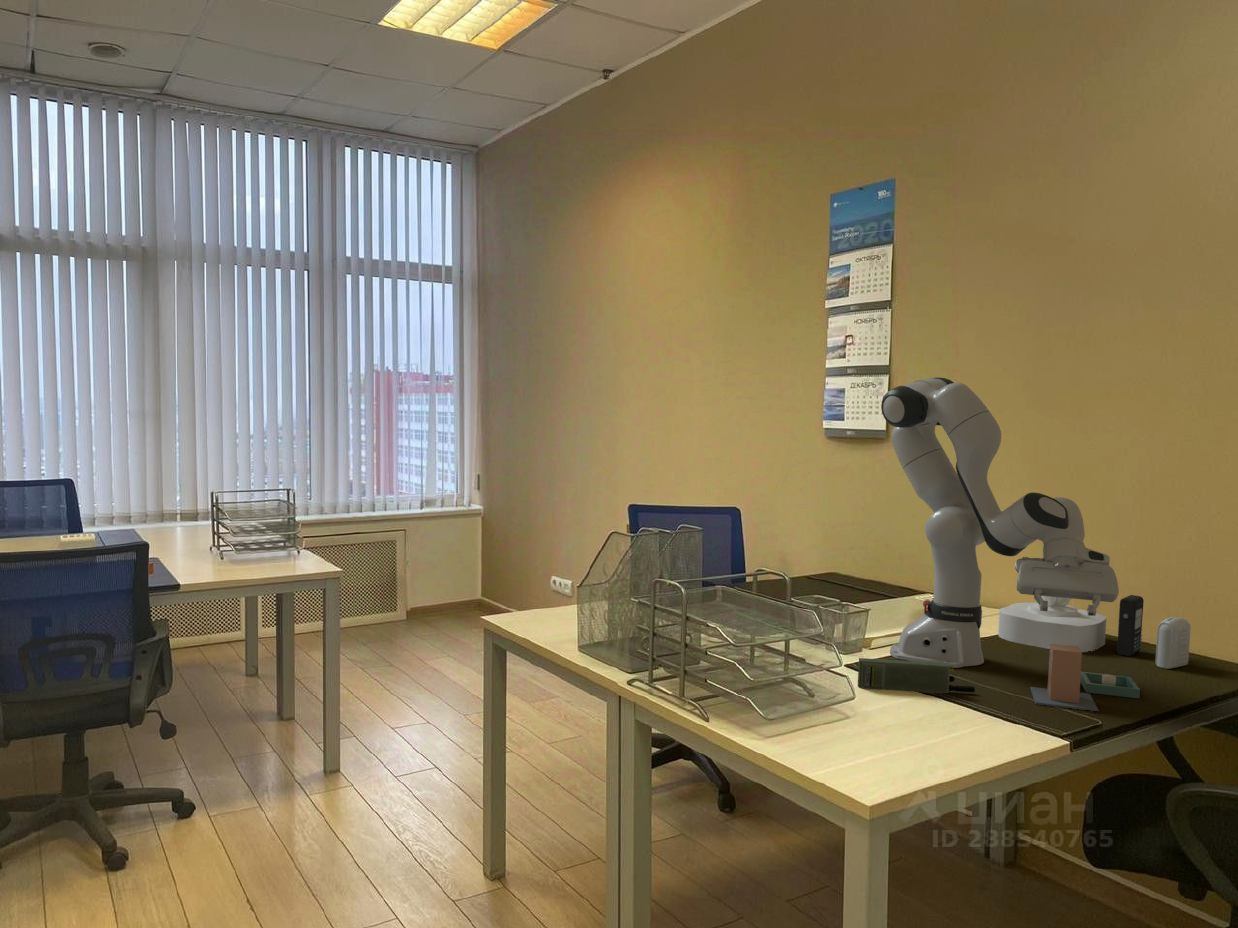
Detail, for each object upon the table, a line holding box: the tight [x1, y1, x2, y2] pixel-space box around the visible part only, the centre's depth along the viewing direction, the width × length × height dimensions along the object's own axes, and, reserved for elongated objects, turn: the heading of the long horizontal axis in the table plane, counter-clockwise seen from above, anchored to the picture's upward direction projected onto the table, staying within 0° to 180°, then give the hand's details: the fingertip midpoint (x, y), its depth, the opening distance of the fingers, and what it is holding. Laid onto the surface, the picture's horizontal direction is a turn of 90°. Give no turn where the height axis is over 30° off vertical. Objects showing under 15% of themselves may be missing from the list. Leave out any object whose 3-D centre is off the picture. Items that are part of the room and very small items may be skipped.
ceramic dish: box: [1080, 671, 1141, 699], centre depth 208 cm, size 11×11×3 cm
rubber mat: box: [1030, 686, 1099, 712], centre depth 199 cm, size 12×12×1 cm
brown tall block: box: [1046, 644, 1083, 703], centre depth 198 cm, size 6×6×11 cm
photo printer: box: [1154, 616, 1192, 669], centre depth 230 cm, size 10×4×12 cm, turn 123°
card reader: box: [1116, 594, 1145, 657], centre depth 241 cm, size 9×4×15 cm, turn 136°
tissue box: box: [997, 596, 1107, 653], centre depth 255 cm, size 25×25×16 cm
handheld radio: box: [857, 657, 976, 694], centre depth 202 cm, size 7×3×25 cm
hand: (1067, 611), depth 198 cm, fingers open, 8 cm apart
